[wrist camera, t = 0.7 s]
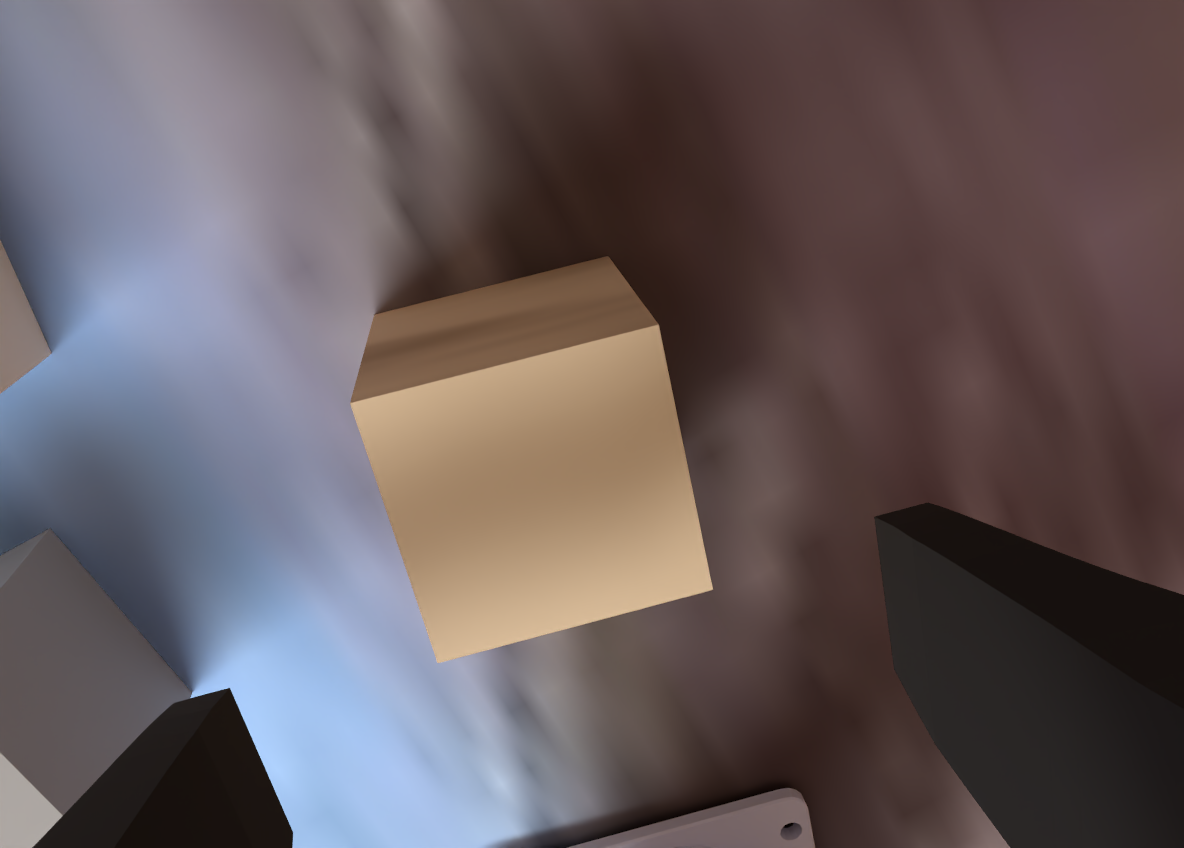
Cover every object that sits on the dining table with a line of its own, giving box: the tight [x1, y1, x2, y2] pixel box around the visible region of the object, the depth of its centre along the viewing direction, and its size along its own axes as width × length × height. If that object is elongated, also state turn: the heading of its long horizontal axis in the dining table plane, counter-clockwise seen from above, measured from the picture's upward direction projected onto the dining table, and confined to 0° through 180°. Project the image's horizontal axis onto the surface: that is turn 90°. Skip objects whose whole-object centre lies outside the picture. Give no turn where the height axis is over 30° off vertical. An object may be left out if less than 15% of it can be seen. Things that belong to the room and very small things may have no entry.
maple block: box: [350, 256, 713, 663], centre depth 17 cm, size 4×4×5 cm
